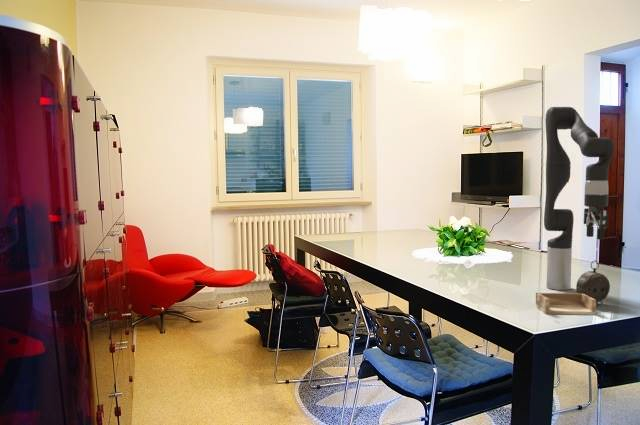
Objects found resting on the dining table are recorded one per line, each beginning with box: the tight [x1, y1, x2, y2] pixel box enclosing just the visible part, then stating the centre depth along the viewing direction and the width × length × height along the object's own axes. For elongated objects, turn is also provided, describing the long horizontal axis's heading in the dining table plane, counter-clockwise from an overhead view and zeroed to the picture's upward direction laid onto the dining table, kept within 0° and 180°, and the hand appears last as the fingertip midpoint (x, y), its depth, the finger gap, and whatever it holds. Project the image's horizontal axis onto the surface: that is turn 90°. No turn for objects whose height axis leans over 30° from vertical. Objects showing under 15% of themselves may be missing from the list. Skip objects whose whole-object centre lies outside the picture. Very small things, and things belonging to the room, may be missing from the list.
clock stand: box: [535, 292, 597, 316], centre depth 176 cm, size 10×16×5 cm, turn 85°
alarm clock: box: [576, 260, 611, 307], centre depth 184 cm, size 11×5×16 cm, turn 99°
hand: (595, 238), depth 183 cm, fingers open, 8 cm apart
